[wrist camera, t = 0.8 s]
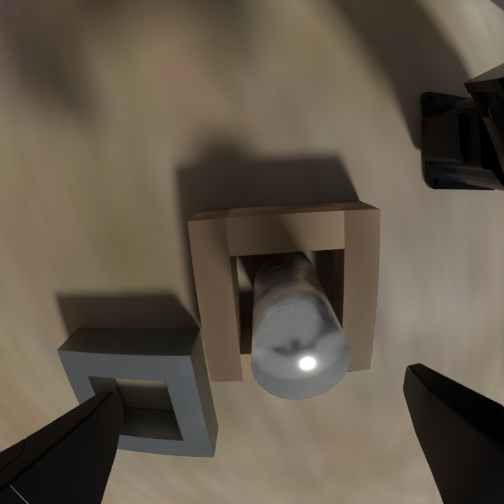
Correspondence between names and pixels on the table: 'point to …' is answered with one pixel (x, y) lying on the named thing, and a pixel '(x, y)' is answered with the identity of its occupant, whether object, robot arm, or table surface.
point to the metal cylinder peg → (295, 331)
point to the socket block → (283, 241)
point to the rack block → (148, 368)
